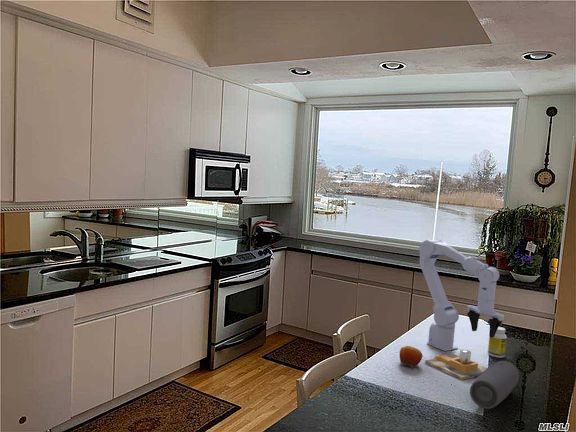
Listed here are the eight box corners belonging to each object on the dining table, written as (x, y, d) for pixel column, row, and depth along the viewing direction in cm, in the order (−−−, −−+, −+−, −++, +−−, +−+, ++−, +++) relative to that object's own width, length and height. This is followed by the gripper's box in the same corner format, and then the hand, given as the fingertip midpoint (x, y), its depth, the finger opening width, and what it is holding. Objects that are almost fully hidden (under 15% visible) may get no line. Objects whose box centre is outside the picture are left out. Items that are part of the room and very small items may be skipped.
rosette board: (425, 362, 174) (425, 359, 174) (453, 356, 183) (454, 353, 183) (464, 381, 160) (464, 377, 160) (493, 373, 169) (493, 370, 169)
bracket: (433, 359, 176) (433, 352, 176) (445, 356, 180) (445, 349, 179) (465, 373, 164) (465, 366, 164) (477, 370, 168) (478, 363, 168)
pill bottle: (502, 359, 183) (505, 331, 183) (485, 355, 187) (488, 327, 186) (506, 355, 188) (509, 328, 188) (490, 351, 192) (492, 324, 191)
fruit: (394, 363, 168) (399, 341, 171) (398, 368, 174) (403, 347, 178) (417, 369, 164) (422, 346, 167) (421, 374, 171) (425, 352, 174)
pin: (456, 366, 169) (458, 350, 169) (462, 364, 172) (463, 348, 171) (465, 370, 167) (467, 353, 166) (471, 368, 169) (473, 352, 168)
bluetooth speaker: (489, 384, 159) (492, 355, 159) (519, 393, 154) (522, 363, 153) (465, 406, 142) (469, 374, 141) (498, 418, 136) (502, 384, 135)
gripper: (463, 295, 184) (460, 329, 186) (497, 304, 172) (493, 341, 173) (475, 293, 188) (471, 327, 189) (508, 303, 176) (505, 338, 177)
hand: (482, 333), depth 182 cm, fingers open, 7 cm apart
